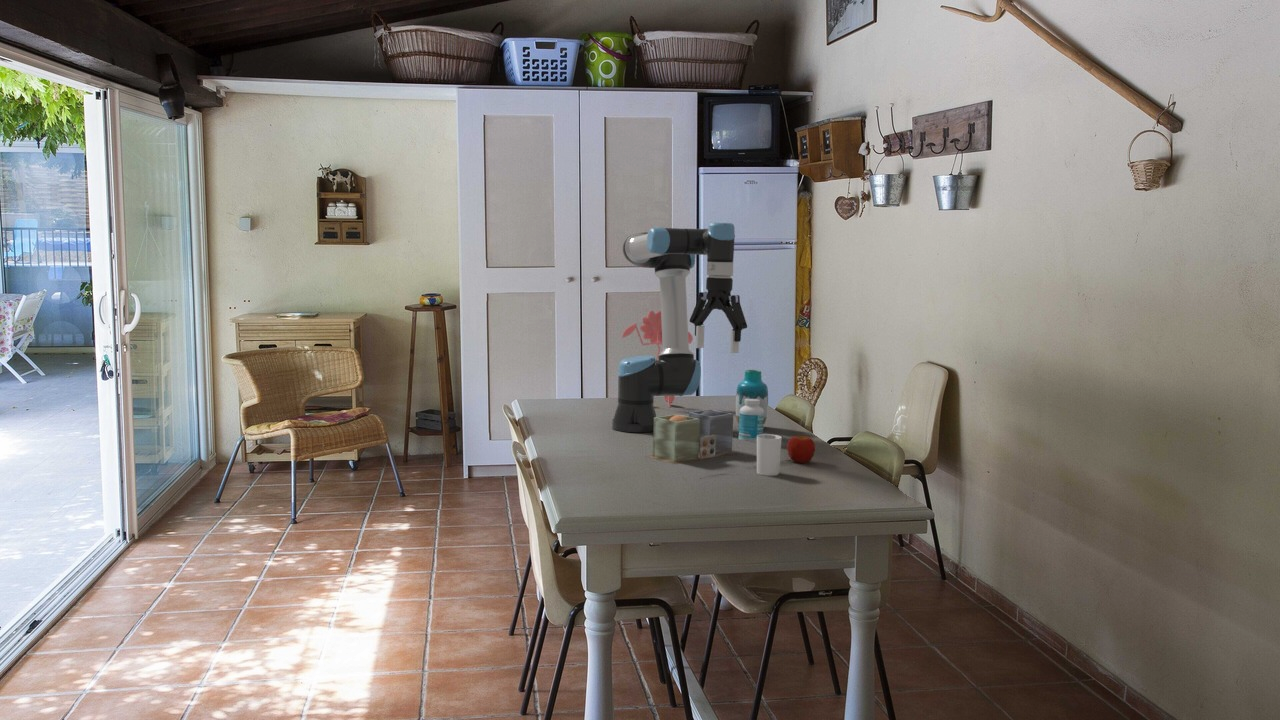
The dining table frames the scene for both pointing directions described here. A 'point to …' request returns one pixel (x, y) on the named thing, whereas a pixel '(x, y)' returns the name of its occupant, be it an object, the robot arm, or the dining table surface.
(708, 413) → the loose charcoal ball
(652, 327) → the pink flower drawing
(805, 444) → the apple
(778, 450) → the drinking glass
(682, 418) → the loose terracotta ball
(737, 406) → the vase
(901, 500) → the dining table surface
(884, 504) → the dining table surface
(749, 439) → the pill bottle
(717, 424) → the rack
